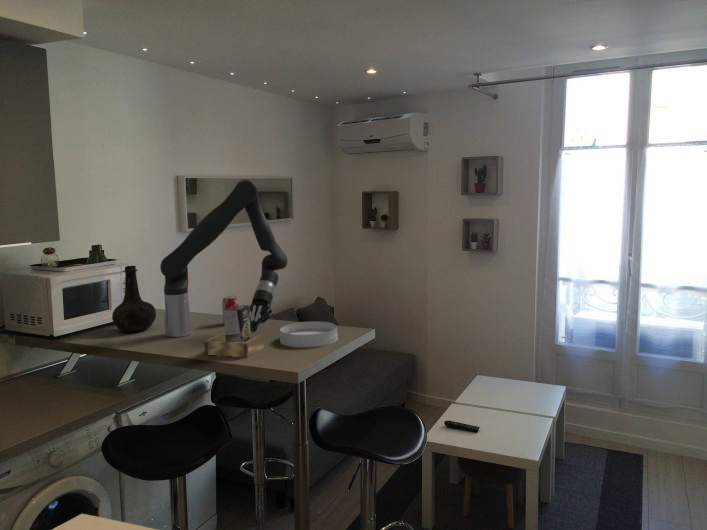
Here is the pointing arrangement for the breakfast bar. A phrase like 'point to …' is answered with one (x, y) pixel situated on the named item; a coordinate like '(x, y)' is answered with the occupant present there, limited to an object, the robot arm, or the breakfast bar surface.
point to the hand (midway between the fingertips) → (252, 331)
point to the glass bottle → (133, 306)
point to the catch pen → (233, 346)
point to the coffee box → (237, 324)
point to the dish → (308, 334)
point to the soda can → (229, 303)
